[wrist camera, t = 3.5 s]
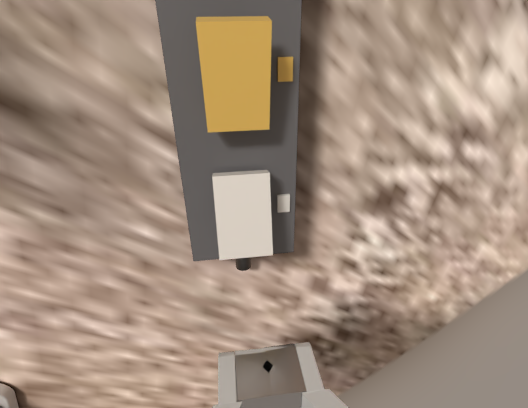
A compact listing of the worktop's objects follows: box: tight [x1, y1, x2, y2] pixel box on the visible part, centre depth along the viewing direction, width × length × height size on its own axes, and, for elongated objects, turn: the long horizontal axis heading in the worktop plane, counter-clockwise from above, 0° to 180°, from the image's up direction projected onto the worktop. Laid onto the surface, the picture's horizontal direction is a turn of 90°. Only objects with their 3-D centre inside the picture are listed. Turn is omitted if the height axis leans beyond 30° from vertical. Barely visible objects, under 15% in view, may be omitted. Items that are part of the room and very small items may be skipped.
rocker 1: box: [196, 16, 272, 132], centre depth 15 cm, size 5×3×1 cm, turn 1°
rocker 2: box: [212, 170, 273, 260], centre depth 19 cm, size 5×3×1 cm, turn 1°
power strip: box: [155, 0, 302, 271], centre depth 19 cm, size 27×7×5 cm, turn 1°
